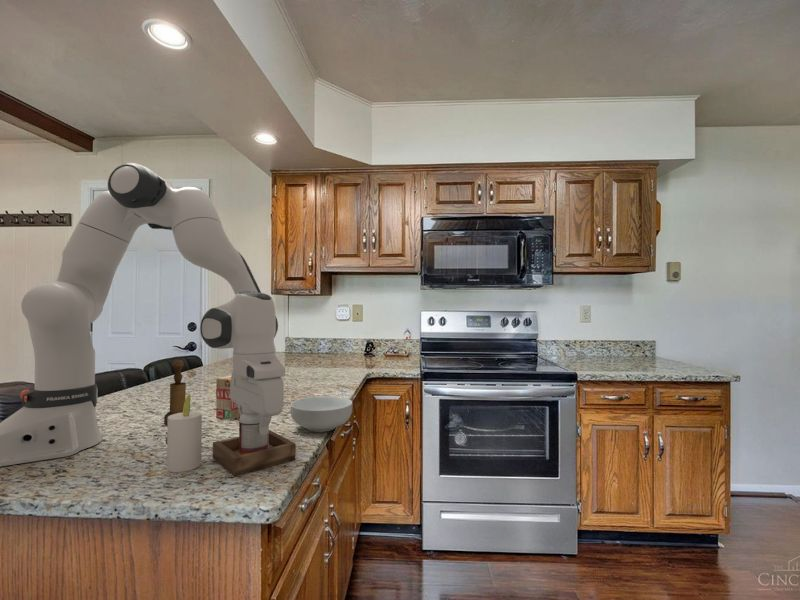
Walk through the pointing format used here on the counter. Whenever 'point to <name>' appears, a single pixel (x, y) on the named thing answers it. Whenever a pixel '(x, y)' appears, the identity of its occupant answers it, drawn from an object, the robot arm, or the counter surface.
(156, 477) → the counter surface
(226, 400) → the stack of blocks
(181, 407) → the brown knobbed cylinder
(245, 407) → the pill bottle
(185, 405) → the candle
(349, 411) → the cereal bowl
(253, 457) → the tray
